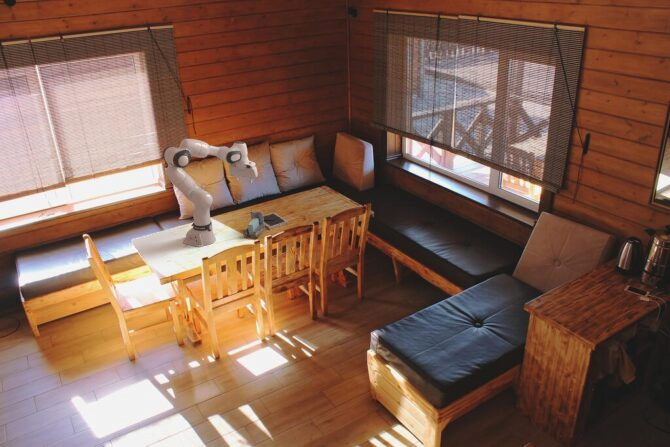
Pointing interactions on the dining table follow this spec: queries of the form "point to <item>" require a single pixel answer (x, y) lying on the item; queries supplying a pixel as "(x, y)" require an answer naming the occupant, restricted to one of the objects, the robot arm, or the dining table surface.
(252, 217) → the book rack
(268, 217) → the picture frame
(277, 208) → the dining table surface
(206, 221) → the robot arm
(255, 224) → the book
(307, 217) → the dining table surface
